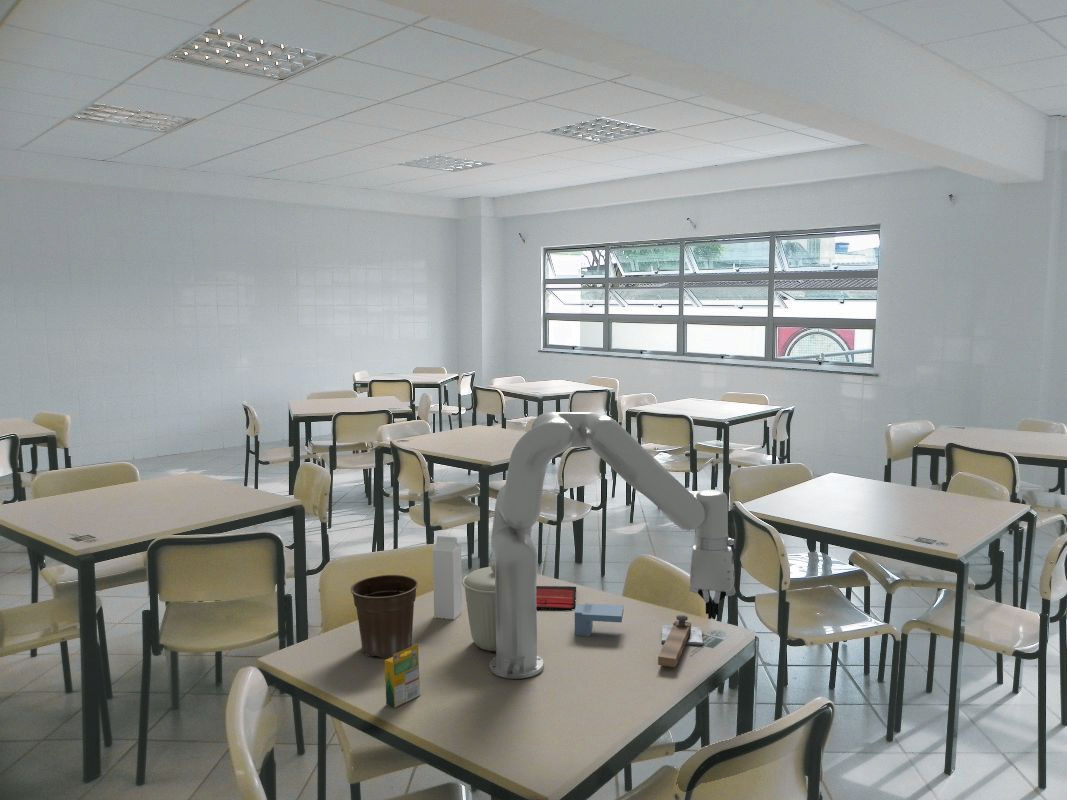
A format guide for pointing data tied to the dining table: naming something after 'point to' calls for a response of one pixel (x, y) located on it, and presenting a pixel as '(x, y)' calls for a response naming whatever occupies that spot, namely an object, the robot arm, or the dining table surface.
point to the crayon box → (402, 676)
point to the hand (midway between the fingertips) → (712, 616)
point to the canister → (481, 606)
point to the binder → (556, 597)
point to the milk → (447, 578)
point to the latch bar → (675, 642)
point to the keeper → (595, 616)
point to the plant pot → (385, 613)
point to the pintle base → (693, 637)
